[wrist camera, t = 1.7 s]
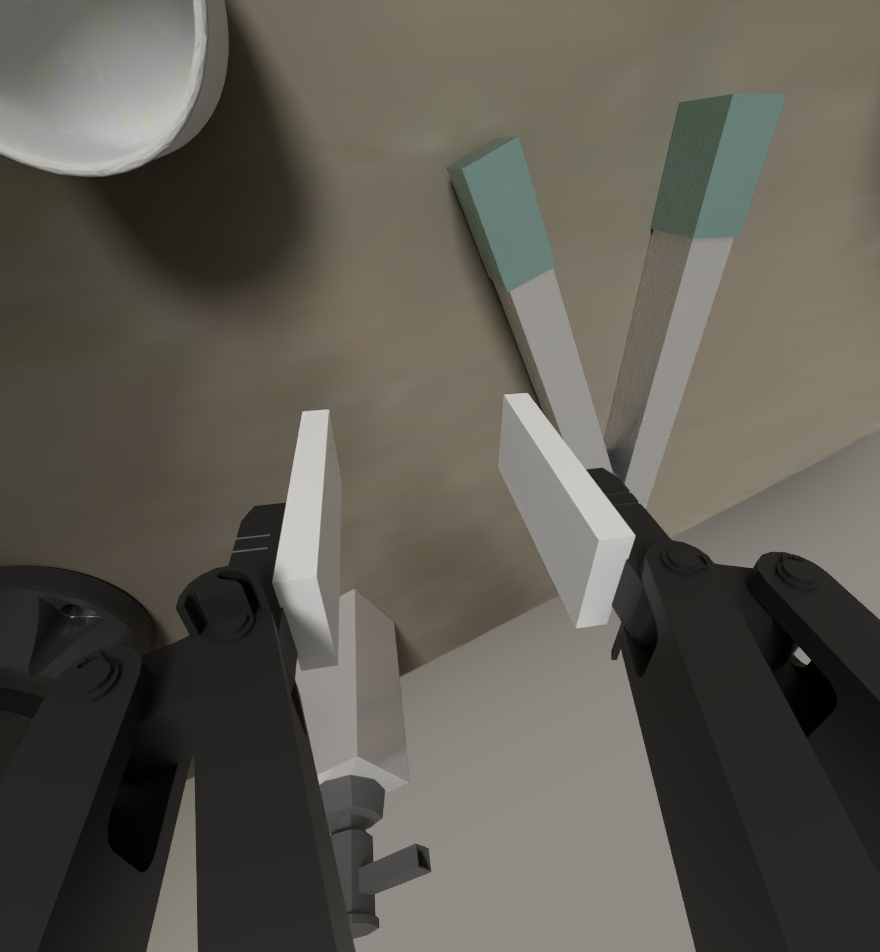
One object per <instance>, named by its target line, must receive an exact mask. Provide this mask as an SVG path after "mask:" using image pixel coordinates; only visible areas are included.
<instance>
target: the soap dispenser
mask: <svg viewBox="0 0 880 952" xmlns="http://www.w3.org/2000/svg"><path fill="white" fill-rule="evenodd" d="M295 681H296V684H297V686H298V689H299V693H300V698H301V702H302V707H303V711H304V716H305V721H306V725H307V730H308V735H309V739H310V744H311V748H312V753H313V758H314V762H315V767H316V772H317V776H318V781H319V785H320V790H321V795H322V799H323V804H324V809H325V813H326V818H327V822H328V827H329V832H330V833H331V841H332V845H333V850H334V855H335V859H336V864H337V869H338V873H339V878H340V882H341V887H342V892H343V896H344V901H345V906H346V910H347V915H348V919H349V924H350V929H351V933H352V938H353V939H354V938H358V937H362V936H365V935H368V934H370V933H371V932H373V931H374V930H376V929H377V928H379V918H378V917H376V916H375V894H376V893H379V892H381V891H384V890H386V889H389V888H392V887H394V886H397V885H399V884H402V883H404V882H407V881H409V880H412V879H415V878H417V877H420V876H422V875H425V874H427V873H430V872H431V866H430V858H429V849H428V848H426V847H424V846H421V845H418V844H414V845H411V846H409V847H407V848H405V849H402V850H400V851H398V852H395V853H393V854H391V855H388V856H386V857H384V858H382V859H380V860H378V861H375V862H373V838H372V836H371V835H370V834H368V833H367V832H366V829H368V828H370V827H371V826H373V825H374V824H375V823H376V822H378V821H379V820H380V819H382V817H383V807H384V796H385V794H386V793H388V792H391V791H393V790H395V789H397V788H400V787H402V786H404V785H406V784H409V783H410V780H409V770H408V759H407V750H406V739H405V729H404V719H403V709H402V699H401V688H400V678H399V667H398V657H397V647H396V637H395V627H394V621H392V620H391V619H390V618H389V617H388V616H386V615H385V614H384V613H383V612H382V611H381V610H379V609H378V608H377V607H376V606H375V605H374V604H372V603H371V602H370V601H369V600H368V599H366V598H365V597H364V596H363V595H362V594H361V593H359V592H358V591H357V590H356V589H353V590H351V591H349V592H348V593H346V594H344V595H342V596H340V597H339V647H338V665H337V666H331V667H324V668H318V669H311V670H305V671H301V668H300V665H299V662H298V659H297V665H296V675H295Z"/></svg>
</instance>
